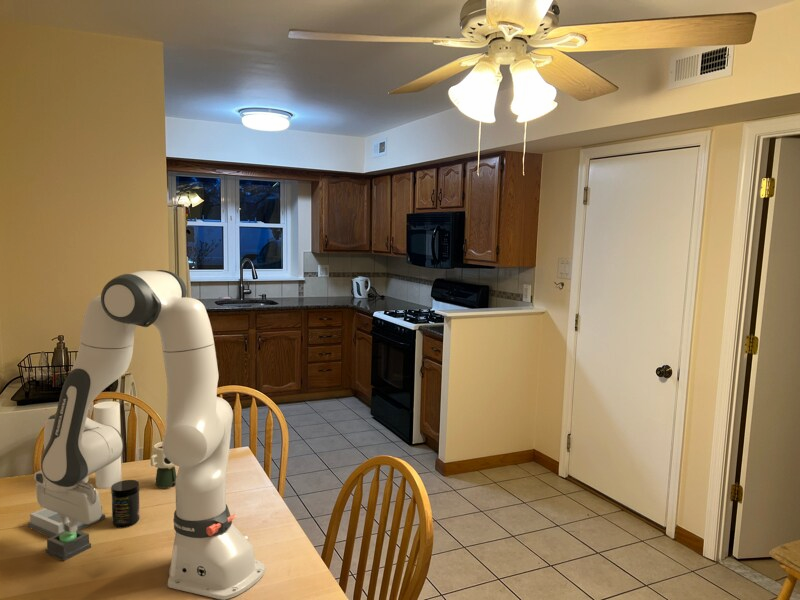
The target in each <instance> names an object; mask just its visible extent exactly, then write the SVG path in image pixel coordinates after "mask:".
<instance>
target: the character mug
mask: <svg viewBox="0 0 800 600" xmlns="http://www.w3.org/2000/svg"><path fill="white" fill-rule="evenodd" d="M162 444H163V441H159V442H157V443H155V444H154V445H153V451H152V452H153V455H151V456H150V465H151V467H155V468H157V469H156V474H155V475H156V476H155V484H154V485H155V486H156V487H159V488H160V489H166V488H167V489H168V488H172V487H173V483H174V486H176V476H177V472H176V465H174V464H173V463H171V462H170V461H169V460H168V459H167V458H166V456H165V454H164V452H163V447H162Z"/></svg>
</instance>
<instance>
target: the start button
mask: <svg viewBox="0 0 800 600" xmlns="http://www.w3.org/2000/svg"><path fill="white" fill-rule="evenodd" d="M59 538H60V541H61V542H63V543H67V542H69V541H71V540H73V539H75V538H77V533H76V532H74V533H70V532H67V531H66V532H64V533H62V534H60V536H59Z"/></svg>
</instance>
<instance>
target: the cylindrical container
mask: <svg viewBox="0 0 800 600" xmlns="http://www.w3.org/2000/svg"><path fill="white" fill-rule="evenodd" d="M93 421H95V422H97V423H100V424H103V425H110V426H112V427H114V428H115V429H117V430H118V431H119V433H120V434H121V405H120V402H118V401H103V402H98V403H96V404H93ZM94 473H95V476H94V477H95V487H96V488H98V489H111V487H112V485H113V484H115V483H117V482H120V481H123V480H122V479H123V478H122V455H121V456H120V457H119V458H118V459H117V460H115V461H114V462H112V463H110V464H109V465H107V466H105V467H103V468H102V469H100V470H98V471H96V472H94Z"/></svg>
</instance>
